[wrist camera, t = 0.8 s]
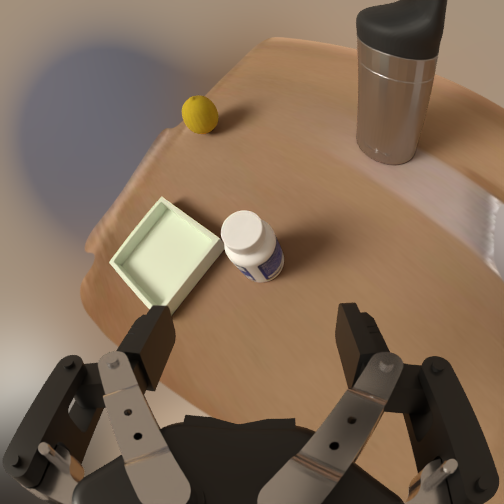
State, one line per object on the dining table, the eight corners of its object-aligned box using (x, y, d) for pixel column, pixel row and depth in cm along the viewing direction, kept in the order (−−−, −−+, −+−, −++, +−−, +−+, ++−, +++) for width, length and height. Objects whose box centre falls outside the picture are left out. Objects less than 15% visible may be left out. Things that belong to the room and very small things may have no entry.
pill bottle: (281, 237, 34) (267, 199, 26) (287, 279, 32) (273, 250, 24) (239, 245, 35) (213, 210, 27) (242, 286, 33) (214, 260, 25)
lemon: (192, 128, 46) (173, 96, 39) (221, 116, 45) (205, 82, 38) (196, 148, 44) (175, 114, 37) (227, 135, 43) (210, 99, 36)
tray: (169, 205, 40) (161, 196, 38) (226, 246, 36) (219, 238, 33) (119, 267, 39) (109, 262, 36) (167, 320, 34) (156, 317, 32)
